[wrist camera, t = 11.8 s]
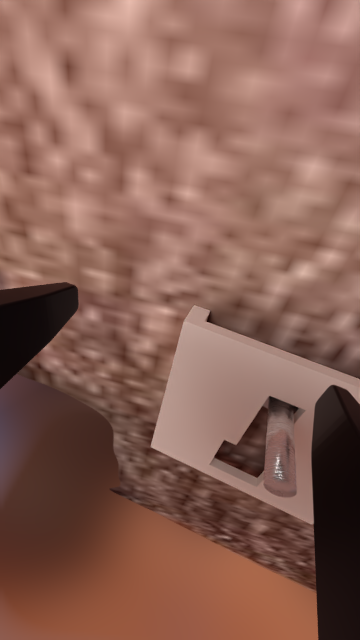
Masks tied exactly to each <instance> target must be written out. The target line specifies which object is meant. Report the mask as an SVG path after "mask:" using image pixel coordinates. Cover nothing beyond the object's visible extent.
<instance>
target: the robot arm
mask: <svg viewBox="0 0 360 640" xmlns="http://www.w3.org/2000/svg"><path fill="white" fill-rule="evenodd" d="M78 305H79V304H78V289H77V287H76V286H75V285H72V284H70V283H67V282H63V283H54V284H46V285H38V286H30V287H21V288H13V289H5V290H0V389H1V388H2V387H3V386H4V385H5V384H6V383H7V382H8V381H9V380H10V379H11V378H12V377H13V376H14V375H16V374H17V373H18V372H19V371H20V370H21V369H22V368H23V367H24V366H25V365H26V364H27V363H28V362H29V361H30V360H31V359H32V358H33V357H34V356H36V355H37V354H38V353H39V352H40V351H41V350H42V349H43V348H44V347H45V346H46V345H47V344H48V343H49V342H50V341H51V340H52V339H53V338H54V337H55V336H56V334H57V333H58V332H59V331H60V330H61V329H62V327H63V326H64V325H65V324H66V323H67V322H68V320H69V319H70V318H71V317H72V316H73V315H74V313H75V312H76V311H77V309H78ZM311 467H312V491H313V516H314V541H315V565H316V590H317V615H318V638H319V639H318V640H360V404H359V403H358V402H357V400H356V399H355V398H354V397H353V396H352V395H351V393H350V392H349V391H348V390H346V389H344V388H342V387H339V386H337V385H330V386H329V387H328V388H327V389H326V391H325V392H324V393H323V394H322V395H321V396H320V398H319V399H318V400H317V402H316V404H315V409H314V422H313V434H312V446H311Z"/></svg>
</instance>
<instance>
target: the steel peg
mask: <svg viewBox="0 0 360 640" xmlns="http://www.w3.org/2000/svg"><path fill="white" fill-rule="evenodd" d="M263 406H264V407H266V408H267V409H268V418H267V434H266V450H265V466H264V482H263V485H264V487H265V489H266V490H267V491H269V492H270V493H272V494H274V495H276V496H279V497H285V498H289V497H293V496H295V495H296V494H297V485H296V461H295V437H294V413H293V412H296V411H297V410H298V409H299V407H296V406H294V405H291V404H289V403H286V402H284V401H282V400H279V399H277V398H274V397H272V396H268V398H267V399H266V401H265V402H264V404H263Z"/></svg>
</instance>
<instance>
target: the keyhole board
mask: <svg viewBox="0 0 360 640" xmlns="http://www.w3.org/2000/svg"><path fill="white" fill-rule="evenodd" d="M209 313H210V310H207V309H204V308H202V307H199V306H196V305H194V306H193V307H192V309H191V311H190V312H189V314H188V315H187V317H186V318H185V320H184V323H183V326H182V330H181V334H180V338H179V341H178V345H177V349H176V353H175V357H174V360H173V364H172V368H171V372H170V375H169V379H168V383H167V387H166V391H165V394H164V398H163V402H162V406H161V409H160V413H159V417H158V421H157V425H156V428H155V432H154V436H153V440H152V443H151V447H152V448H154V449H156V450H158V451H160V452H162V453H164V454H166V455H168V456H170V457H172V458H175V459H177V460H179V461H181V462H183V463H185V464H187V465H189V466H191V467H193V468H195V469H197V470H199V471H201V472H203V473H206V474H208V475H210V476H212V477H214V478H216V479H218V480H220V481H222V482H224V483H226V484H228V485H230V486H232V487H235V488H237V489H239V490H241V491H243V492H245V493H247V494H249V495H251V496H253V497H255V498H257V499H259V500H261V501H264V502H266V503H268V504H270V505H272V506H274V507H276V508H278V509H280V510H282V511H284V512H286V513H288V514H290V515H293V516H295V517H297V518H299V519H301V520H303V521H305V522H307V523H309V524H311V525H312V524H314V516H313V491H312V467H311V446H312V434H313V422H314V409H315V404H316V402H317V400H318V399H319V398H320V396H321V395H322V394H323V393H324V392H325V391H326V389H327V388H328V387H329V386H330V385H337V386H339V387H342V388H344V389H346V390H348V391H349V392H350V393H351V395H352V396H353V397H354V398H355V399H356V400H357V402H358V403H359V404H360V379H358V378H355V377H353V376H350V375H347V374H345V373H342V372H339V371H337V370H334V369H331V368H329V367H326V366H323V365H321V364H318V363H315V362H313V361H310V360H307V359H305V358H302V357H299V356H297V355H294V354H291V353H289V352H286V351H283V350H281V349H278V348H275V347H273V346H270V345H267V344H265V343H262V342H259V341H257V340H254V339H252V338H249V337H246V336H244V335H241V334H238V333H236V332H233V331H230V330H228V329H225V328H222V327H220V326H217V325H214V324H212V323H209V322H207V319H208V316H209ZM268 396H272V397H274V398H277V399H279V400H282V401H284V402H286V403H289V404H291V405H294V406H296V407H299V409H298V410H297V411H296V412H295V414H294V437H295V461H296V485H297V494H296V495H295V496H293V497H289V498H285V497H279V496H276V495H274V494H272V493H270V492H269V491H267V490H266V489H265V487H264V485H263V482H264V471H263V472H262V473H261V474H260V476H259V477H258V478H256V477H254V476H252V475H250V474H248V473H245V472H243V471H241V470H239V469H237V468H235V467H233V466H231V465H228V464H226V463H224V462H222V461H220V460H218V459H216V458H214V456H215V454H216V453H217V451H218V449H219V447H220V446H221V444H222V442H223V441H224V440H226V441H228V442H230V443H232V444H235V445H237V443H238V442H239V440H240V439H241V437H242V436H243V434H244V433H245V431H246V430H247V428H248V427H249V425H250V424H251V422H252V421H253V419H254V418H255V416H256V415H257V413H258V412H259V410H260V409H261V407H262V406H263V404H264V402H265V401H266V399H267V398H268Z"/></svg>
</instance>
